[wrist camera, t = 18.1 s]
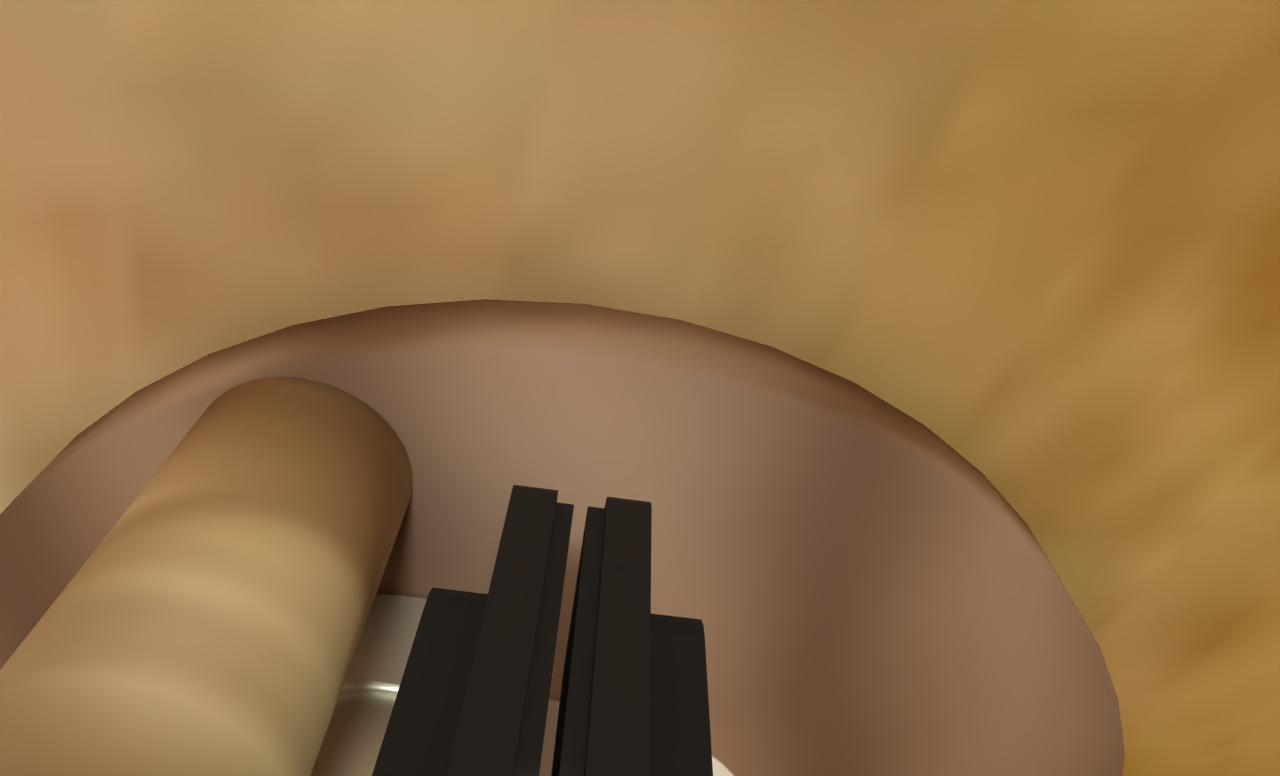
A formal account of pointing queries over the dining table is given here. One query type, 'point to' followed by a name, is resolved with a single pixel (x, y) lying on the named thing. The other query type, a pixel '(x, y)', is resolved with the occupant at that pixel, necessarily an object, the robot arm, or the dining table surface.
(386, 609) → the valve
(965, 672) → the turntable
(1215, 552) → the dining table surface
